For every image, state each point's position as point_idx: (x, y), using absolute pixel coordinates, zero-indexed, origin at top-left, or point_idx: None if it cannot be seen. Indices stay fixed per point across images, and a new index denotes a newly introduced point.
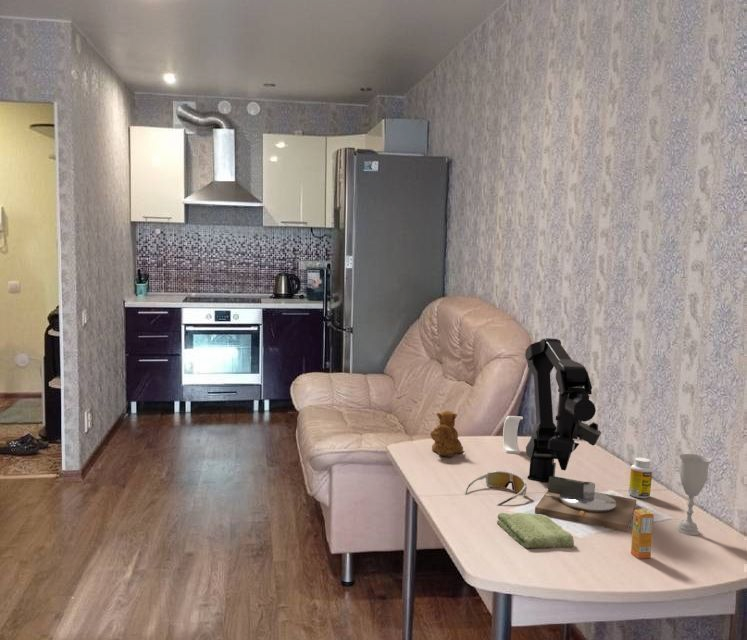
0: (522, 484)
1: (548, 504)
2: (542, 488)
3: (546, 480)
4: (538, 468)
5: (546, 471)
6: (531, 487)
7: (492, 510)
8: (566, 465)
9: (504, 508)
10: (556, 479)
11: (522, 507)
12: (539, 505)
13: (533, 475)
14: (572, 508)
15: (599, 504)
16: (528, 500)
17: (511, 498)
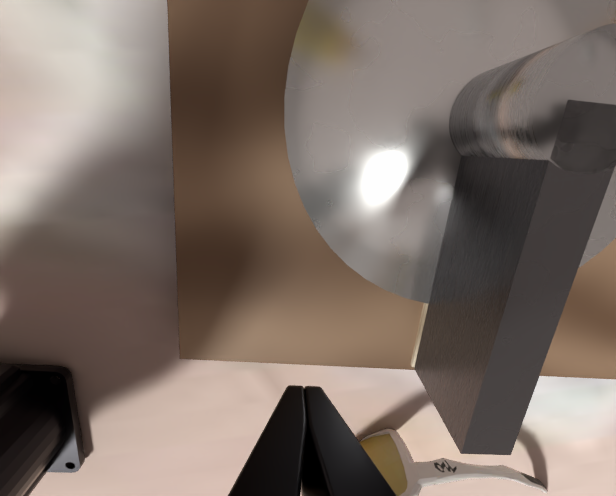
0: None
1: (573, 331)
2: (201, 381)
3: (67, 387)
4: (19, 486)
5: (7, 433)
6: (219, 425)
7: (611, 490)
8: (347, 428)
9: (575, 463)
10: (522, 398)
11: (540, 412)
12: (602, 367)
13: (52, 457)
14: None
15: (609, 15)
16: (431, 406)
17: (527, 478)
